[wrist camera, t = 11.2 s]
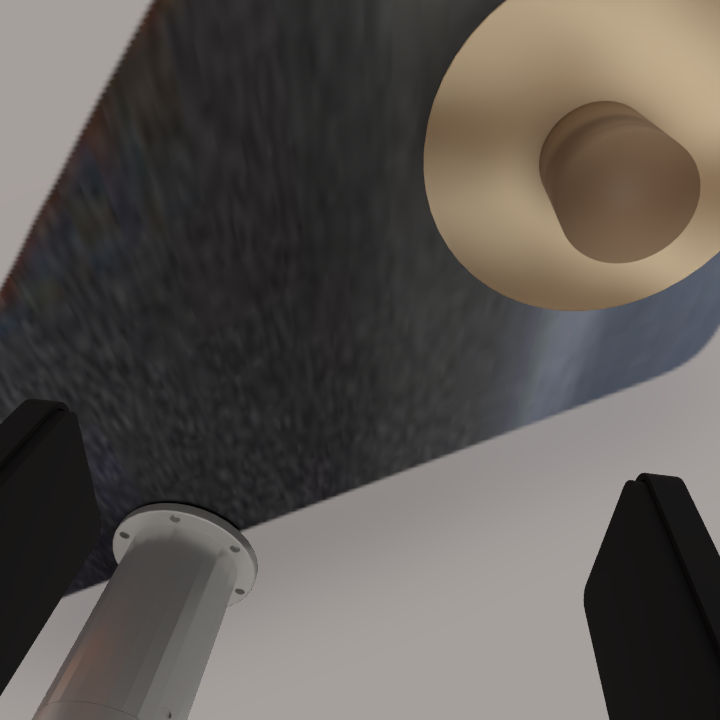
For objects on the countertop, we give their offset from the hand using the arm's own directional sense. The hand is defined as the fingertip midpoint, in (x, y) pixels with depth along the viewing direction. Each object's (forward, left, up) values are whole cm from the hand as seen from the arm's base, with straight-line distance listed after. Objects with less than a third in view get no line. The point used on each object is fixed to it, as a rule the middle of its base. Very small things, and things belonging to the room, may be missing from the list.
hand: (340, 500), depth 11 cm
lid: (+2, -7, -17) cm, 19 cm away
